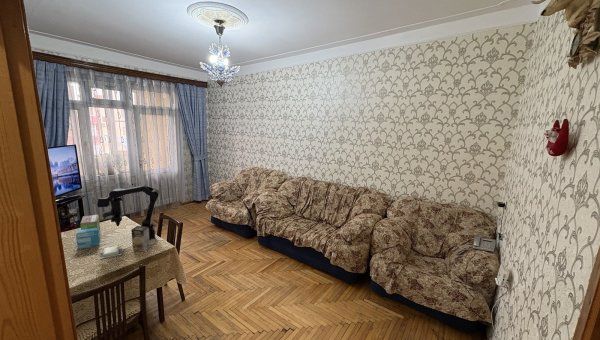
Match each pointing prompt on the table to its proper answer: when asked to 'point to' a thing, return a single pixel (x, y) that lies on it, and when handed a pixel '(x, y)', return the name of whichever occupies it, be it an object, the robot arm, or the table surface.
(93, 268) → the table surface
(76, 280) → the table surface
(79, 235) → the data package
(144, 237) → the coffee box
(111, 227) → the table surface
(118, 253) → the mat
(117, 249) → the tile
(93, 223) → the tea box
